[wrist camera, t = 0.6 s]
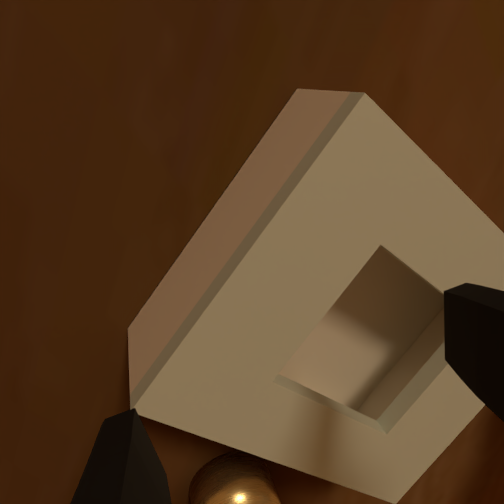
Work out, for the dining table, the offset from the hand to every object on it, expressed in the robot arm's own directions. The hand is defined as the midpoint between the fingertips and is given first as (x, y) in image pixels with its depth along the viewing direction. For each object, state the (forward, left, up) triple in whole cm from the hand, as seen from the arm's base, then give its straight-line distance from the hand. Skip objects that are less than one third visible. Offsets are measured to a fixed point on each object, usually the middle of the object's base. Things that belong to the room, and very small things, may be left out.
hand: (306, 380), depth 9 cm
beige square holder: (-6, -1, -9) cm, 11 cm away
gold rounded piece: (-9, +11, -9) cm, 17 cm away
